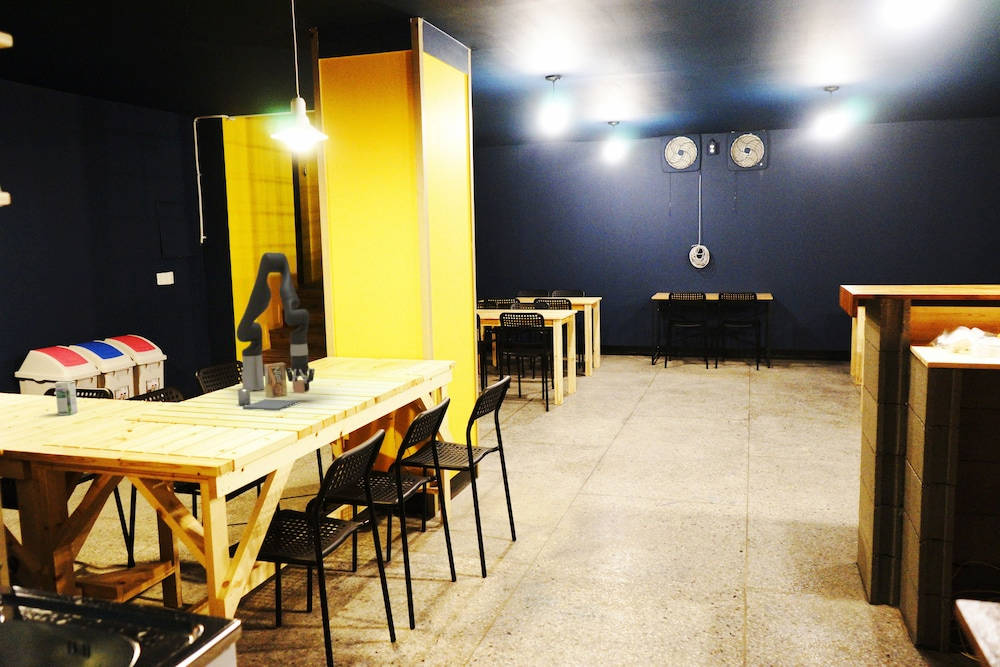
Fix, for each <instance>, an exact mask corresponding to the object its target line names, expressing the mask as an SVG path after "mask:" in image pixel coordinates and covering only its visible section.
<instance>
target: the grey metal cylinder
mask: <svg viewBox="0 0 1000 667" xmlns="http://www.w3.org/2000/svg"><path fill="white" fill-rule="evenodd" d="M237 397H238V400H237V401H238V406H239V405H240V406H239V407H244V406H245V405H250V404H252V403H251V391H250V389H249V388H243V387H242V388H238V389H237Z"/></svg>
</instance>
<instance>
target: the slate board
mask: <svg viewBox="0 0 1000 667" xmlns="http://www.w3.org/2000/svg"><path fill="white" fill-rule="evenodd" d="M298 402H299V403H300V400H295V399H294V400H293V399H292V400H290V399H289V400H288V399H270V398H269V399H267V398H266V399H262V400H258V401H255V402H252V403H251V404H250V405H247V406H242V410H252V409H262V410H261V411H274V410H279V411H281V410H280V409H282V408H285V407H287V406H290V405H293V404H295V403H298ZM299 403H298V404H299ZM295 405H296V404H295ZM293 406H294V405H293ZM290 407H291V406H290ZM287 408H288V407H287ZM263 409H264V410H263ZM285 409H286V408H285ZM282 410H283V409H282Z"/></svg>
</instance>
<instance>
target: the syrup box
mask: <svg viewBox="0 0 1000 667" xmlns="http://www.w3.org/2000/svg"><path fill="white" fill-rule="evenodd" d="M54 387H55V397H56V408H57V416H73V415H74V414H77V413H78V404H77V403H78V402H77V391H76V382H75V380H59V381H56V382H55V383H54Z"/></svg>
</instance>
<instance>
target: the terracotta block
mask: <svg viewBox="0 0 1000 667" xmlns="http://www.w3.org/2000/svg"><path fill="white" fill-rule="evenodd" d="M304 383H305V382H304V380H303V379H298V380H297V381H294V382H293V383H292V391H293V392H292V393H293V394H305V393H307V392H309V391H310V389H309V390H308V391H305V386H304Z"/></svg>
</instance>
